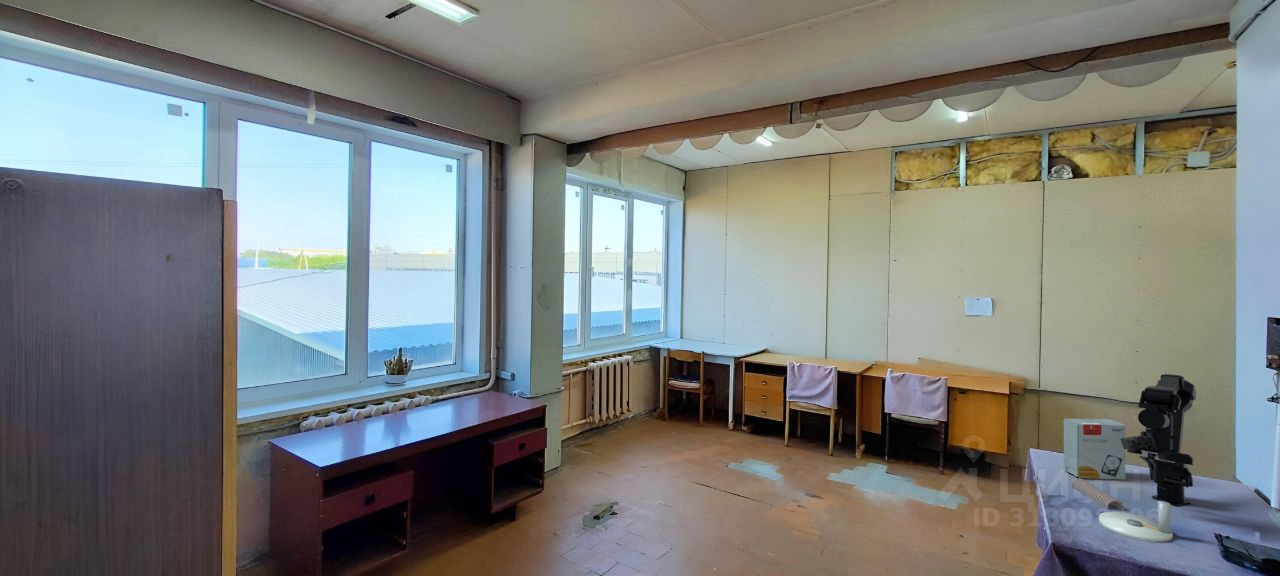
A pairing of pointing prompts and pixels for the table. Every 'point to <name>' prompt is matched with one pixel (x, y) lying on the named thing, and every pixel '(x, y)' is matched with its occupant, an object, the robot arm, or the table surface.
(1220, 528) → the table surface
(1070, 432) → the hard drive box
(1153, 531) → the desk lamp base
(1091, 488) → the coil
